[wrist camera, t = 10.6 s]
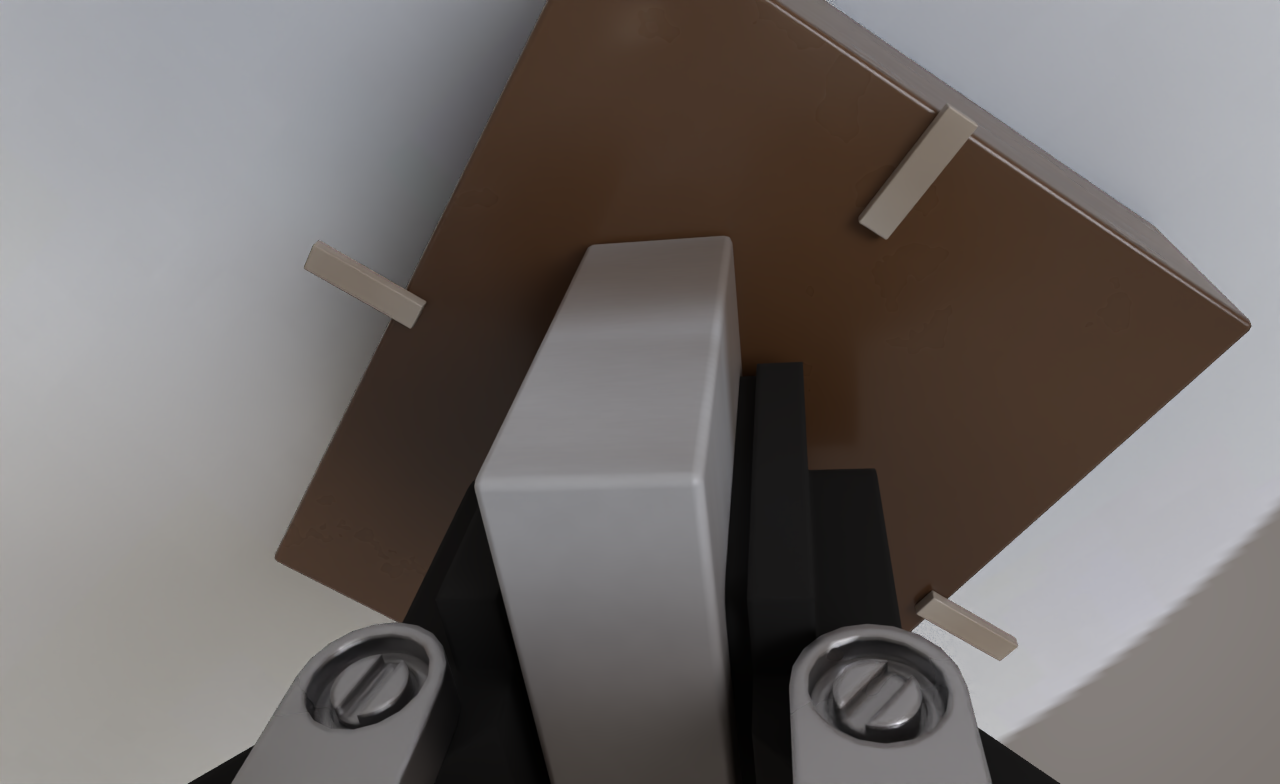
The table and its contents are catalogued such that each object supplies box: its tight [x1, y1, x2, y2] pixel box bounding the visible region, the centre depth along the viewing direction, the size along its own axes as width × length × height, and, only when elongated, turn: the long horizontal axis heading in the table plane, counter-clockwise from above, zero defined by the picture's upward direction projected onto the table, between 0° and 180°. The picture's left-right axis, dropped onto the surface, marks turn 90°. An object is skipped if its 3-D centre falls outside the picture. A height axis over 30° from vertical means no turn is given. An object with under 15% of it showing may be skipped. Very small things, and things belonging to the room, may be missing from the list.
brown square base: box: [275, 0, 1251, 661], centre depth 13 cm, size 10×10×3 cm
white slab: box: [474, 236, 742, 784], centre depth 9 cm, size 6×2×5 cm, turn 7°
